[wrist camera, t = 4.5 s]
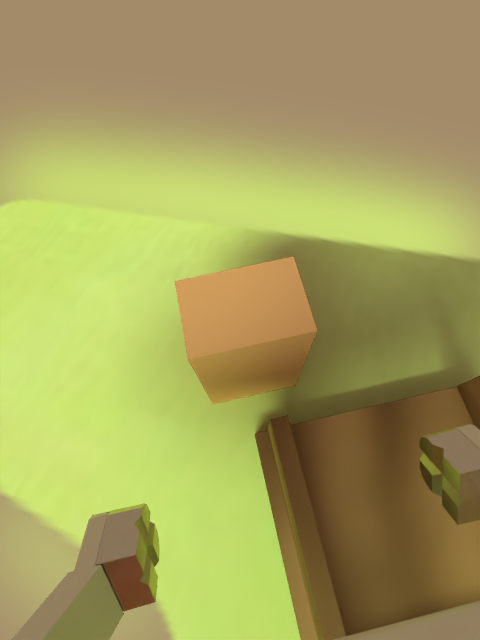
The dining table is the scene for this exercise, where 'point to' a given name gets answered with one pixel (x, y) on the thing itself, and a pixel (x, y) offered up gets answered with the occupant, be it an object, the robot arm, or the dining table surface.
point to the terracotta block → (246, 328)
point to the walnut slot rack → (369, 515)
